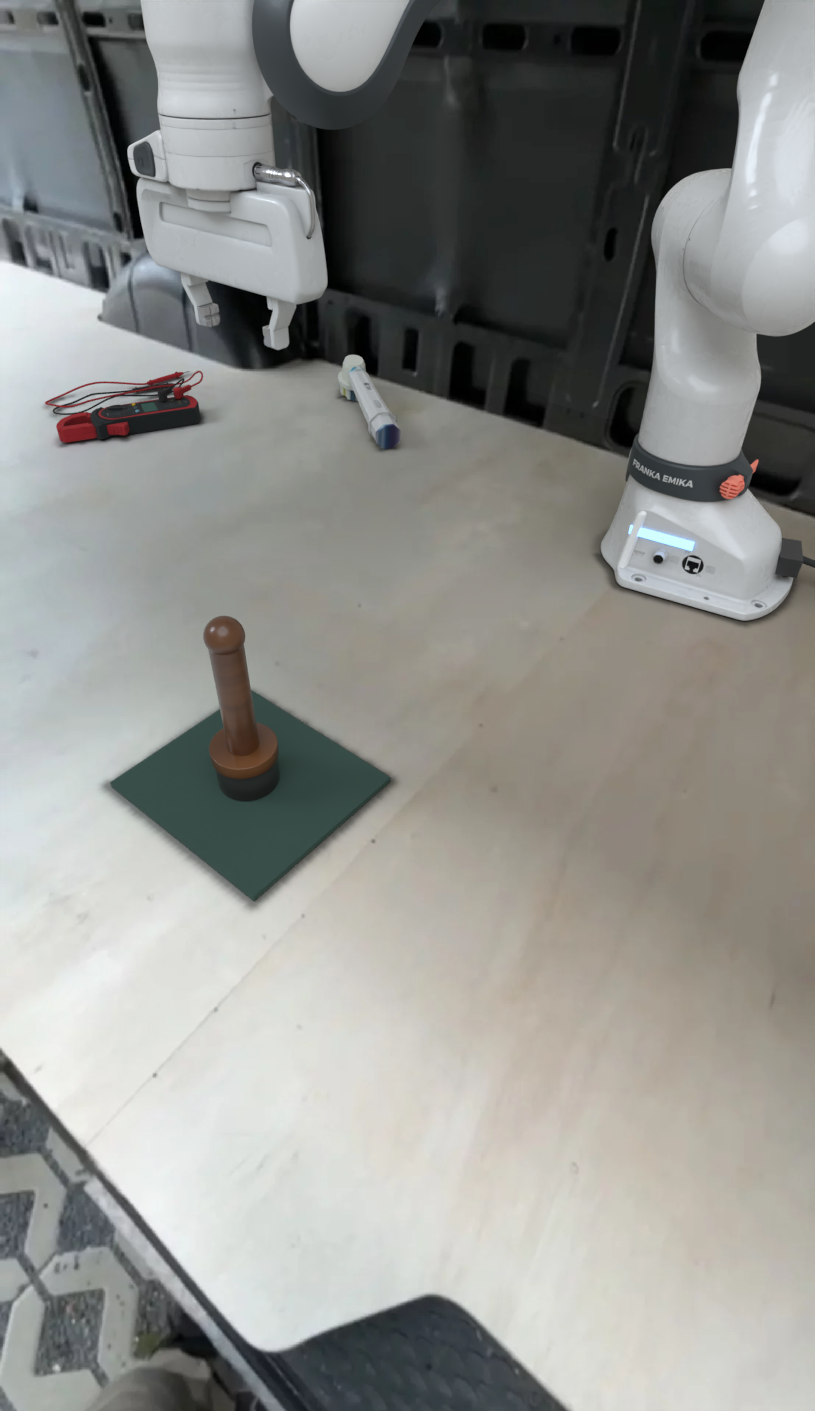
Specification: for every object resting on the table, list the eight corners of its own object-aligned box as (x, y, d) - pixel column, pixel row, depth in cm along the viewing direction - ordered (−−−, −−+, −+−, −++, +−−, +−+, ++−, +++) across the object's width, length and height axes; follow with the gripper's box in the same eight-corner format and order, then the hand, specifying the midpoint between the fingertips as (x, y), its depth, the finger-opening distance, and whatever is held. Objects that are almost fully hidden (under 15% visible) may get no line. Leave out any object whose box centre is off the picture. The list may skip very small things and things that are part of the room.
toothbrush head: (371, 425, 115) (334, 346, 131) (371, 465, 120) (334, 384, 136) (406, 422, 116) (364, 343, 132) (404, 462, 122) (364, 381, 137)
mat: (390, 781, 69) (390, 777, 69) (254, 901, 60) (253, 897, 59) (250, 693, 77) (249, 688, 77) (111, 786, 68) (109, 782, 68)
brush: (295, 776, 69) (276, 617, 57) (246, 814, 65) (216, 653, 54) (251, 746, 71) (225, 588, 60) (202, 781, 68) (165, 622, 57)
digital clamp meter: (221, 395, 122) (51, 420, 114) (225, 424, 125) (59, 450, 117) (186, 347, 137) (33, 366, 129) (190, 374, 140) (41, 394, 132)
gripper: (340, 167, 62) (346, 352, 71) (173, 140, 71) (198, 306, 80) (281, 177, 58) (296, 371, 67) (113, 147, 67) (147, 320, 77)
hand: (242, 335), depth 74 cm, fingers open, 8 cm apart
